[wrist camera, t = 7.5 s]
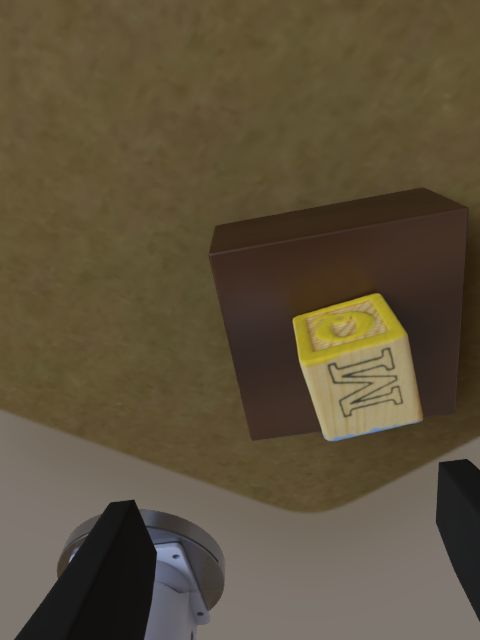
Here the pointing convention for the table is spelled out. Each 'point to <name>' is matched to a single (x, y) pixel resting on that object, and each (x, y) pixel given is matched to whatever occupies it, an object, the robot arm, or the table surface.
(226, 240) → the stand
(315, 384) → the alphabet block
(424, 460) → the table surface
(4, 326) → the table surface
